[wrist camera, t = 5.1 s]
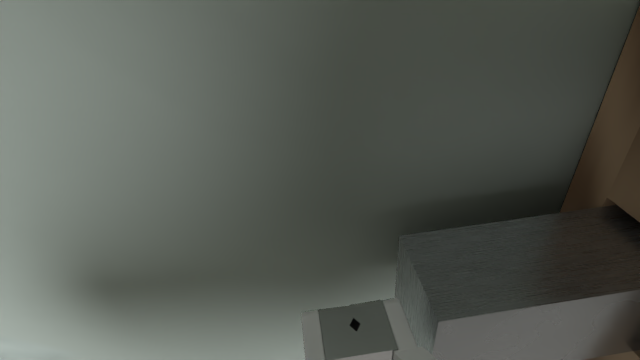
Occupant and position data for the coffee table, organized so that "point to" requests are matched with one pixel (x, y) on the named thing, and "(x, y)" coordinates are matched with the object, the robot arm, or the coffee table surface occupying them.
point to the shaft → (525, 287)
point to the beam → (613, 149)
